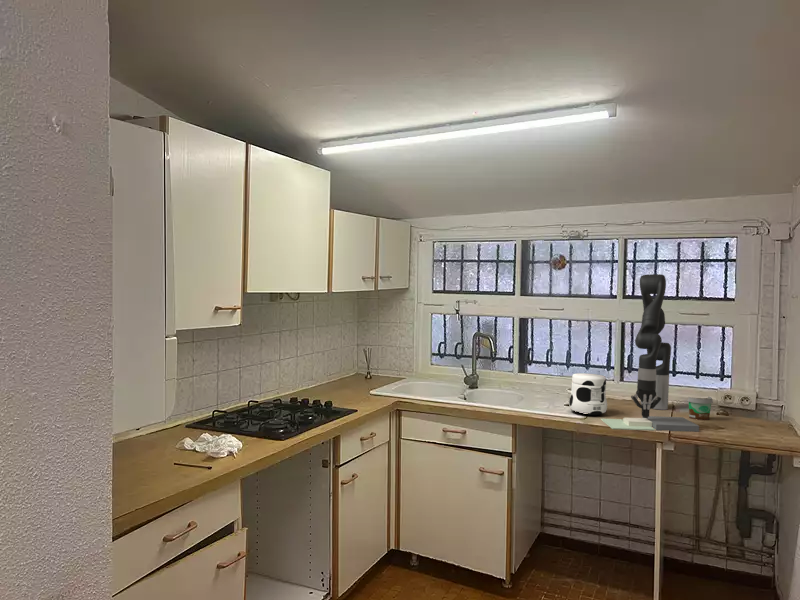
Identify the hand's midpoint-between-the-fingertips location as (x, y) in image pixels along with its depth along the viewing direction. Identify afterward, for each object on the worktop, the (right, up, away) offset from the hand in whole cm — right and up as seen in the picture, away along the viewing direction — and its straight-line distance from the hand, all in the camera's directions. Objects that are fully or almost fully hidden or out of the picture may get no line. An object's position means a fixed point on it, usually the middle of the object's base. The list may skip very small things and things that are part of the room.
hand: (645, 417), depth 262 cm
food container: (+33, -4, +16) cm, 37 cm away
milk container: (-18, -3, +22) cm, 29 cm away
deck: (+11, -4, 0) cm, 11 cm away
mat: (-8, -3, 0) cm, 8 cm away
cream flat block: (-3, -2, 0) cm, 4 cm away
